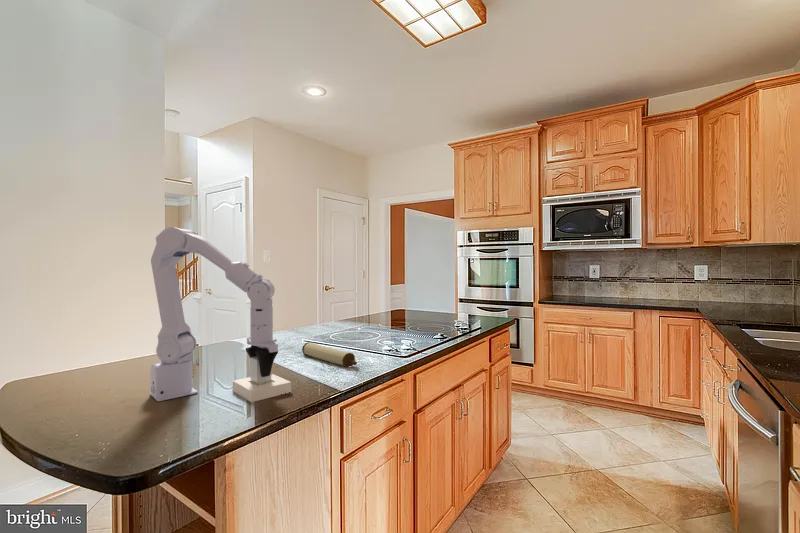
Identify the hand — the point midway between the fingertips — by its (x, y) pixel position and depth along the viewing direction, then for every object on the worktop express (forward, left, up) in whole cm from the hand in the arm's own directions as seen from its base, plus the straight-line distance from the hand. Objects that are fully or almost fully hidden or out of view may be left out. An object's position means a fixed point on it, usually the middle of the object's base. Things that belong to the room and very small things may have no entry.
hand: (261, 374), depth 107 cm
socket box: (0, 0, -5) cm, 5 cm away
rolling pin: (+32, +16, -5) cm, 36 cm away
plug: (0, 0, -2) cm, 2 cm away
